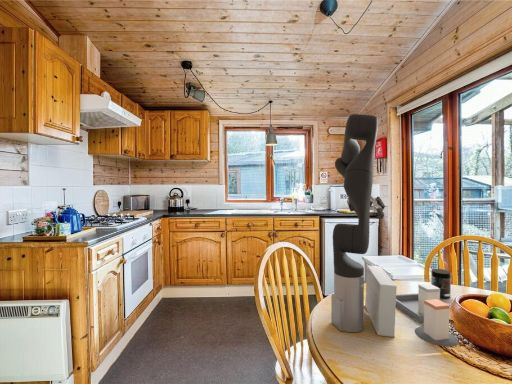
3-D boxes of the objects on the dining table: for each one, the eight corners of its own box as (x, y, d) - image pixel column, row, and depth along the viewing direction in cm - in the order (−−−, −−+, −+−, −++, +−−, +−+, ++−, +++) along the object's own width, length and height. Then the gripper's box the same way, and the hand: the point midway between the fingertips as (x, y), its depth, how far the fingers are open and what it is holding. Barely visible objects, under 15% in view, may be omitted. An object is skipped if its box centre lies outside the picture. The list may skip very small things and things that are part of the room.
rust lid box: (449, 338, 82) (449, 305, 82) (435, 340, 82) (436, 306, 81) (436, 330, 87) (436, 298, 87) (423, 332, 86) (423, 300, 86)
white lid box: (439, 317, 96) (440, 288, 95) (427, 318, 95) (427, 289, 95) (429, 311, 100) (430, 283, 100) (417, 312, 100) (418, 284, 99)
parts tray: (457, 321, 94) (457, 313, 94) (419, 323, 92) (419, 316, 92) (420, 299, 111) (420, 293, 111) (388, 301, 110) (388, 295, 110)
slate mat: (435, 350, 78) (435, 348, 78) (406, 329, 89) (406, 328, 89) (468, 345, 80) (468, 343, 80) (436, 325, 91) (436, 324, 91)
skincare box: (396, 338, 84) (397, 285, 84) (377, 336, 85) (377, 284, 85) (380, 307, 105) (380, 265, 104) (364, 306, 106) (365, 264, 105)
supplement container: (439, 292, 119) (439, 268, 118) (454, 298, 112) (455, 272, 112) (426, 294, 116) (427, 269, 116) (442, 300, 110) (442, 274, 110)
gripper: (345, 182, 118) (358, 212, 107) (377, 182, 120) (393, 211, 109) (340, 194, 124) (351, 224, 113) (370, 194, 125) (385, 223, 114)
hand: (372, 218), depth 111 cm, fingers open, 8 cm apart
